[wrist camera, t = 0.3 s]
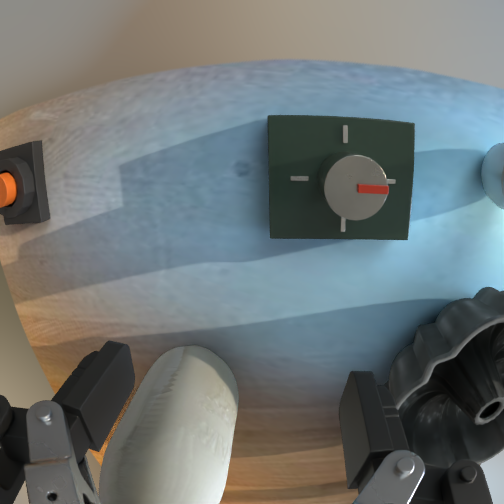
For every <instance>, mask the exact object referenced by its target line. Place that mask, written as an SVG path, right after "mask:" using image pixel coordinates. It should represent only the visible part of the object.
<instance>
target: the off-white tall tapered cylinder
mask: <svg viewBox="0 0 504 504" xmlns="http://www.w3.org/2000/svg"><path fill="white" fill-rule="evenodd" d="M238 401H239V396H238V387H237V383H236V380H235V377H234V375H233V373H232V371H231V369H230V368H229V366H228V365H227V364H226V363H225V362H224V361H223V360H222V359H221V358H220V357H219V356H217V355H216V354H215V353H213V352H212V351H210V350H208V349H206V348H204V347H201V346H196V345H190V346H181V347H177V348H173V349H171V350H169V351H167V352H166V353H164V354H163V355H161V356H160V357H159V358H158V359H157V360H156V362H155V363H154V364H153V365H152V367H151V368H150V369H149V371H148V372H147V374H146V375H145V377H144V379H143V381H142V382H141V384H140V386H139V388H138V390H137V391H136V393H135V395H134V397H133V399H132V401H131V402H130V404H129V406H128V408H127V410H126V412H125V413H124V415H123V417H122V419H121V421H120V423H119V424H118V426H117V428H116V430H115V432H114V434H113V436H112V438H111V440H110V442H109V444H108V446H107V449H106V451H105V454H104V458H103V463H102V467H101V473H100V483H99V499H100V501H101V503H102V504H219V503H220V500H221V498H222V495H223V492H224V488H225V484H226V479H227V474H228V468H229V462H230V455H231V448H232V440H233V433H234V428H235V422H236V417H237V411H238Z"/></svg>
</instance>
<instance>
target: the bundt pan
mask: <svg viewBox="0 0 504 504" xmlns="http://www.w3.org/2000/svg"><path fill="white" fill-rule="evenodd" d="M384 386H385V387H386V388H387V389H388V390H389V391H390V392H391V394H392V395H393V397H394V400H395V403H396V408H397V410H398V413H399V417H400V419H401V422H402V426H403V429H404V432H405V435H406V439H407V442H408V446H409V449H410V451H411V452H413V453H415V454H416V455H418V456H419V457H420V458H421V459H422V461H423V463H424V464H426V465H430V466H437V467H445V468H449V467H450V466H451V465H452V464H453V463H454V462H456V461H458V460H461V459H469V460H472V461H474V462H476V463H477V464H481V463H483V462H485V461H487V460H489V459H491V458H492V457H494V456H495V455H497V454H498V453H500V452H501V451H502V450H503V449H504V291H501V292H500V291H498V290H496V289H494V288H491V287H485V288H483V289H481V290H479V292H478V293H477V294H476V295H475V296H474V298H473V299H471V298H464V299H459V300H456V301H454V302H452V303H450V304H448V305H447V306H446V307H445V308H444V309H443V310H442V311H441V313H440V314H439V315H438V317H437V319H436V321H435V323H430V324H425V325H420V326H418V328H417V330H416V335H415V339H414V343H413V344H410V345H409V346H407V347H405V348H404V349H403V350H402V351H401V352H400V353H399V354H398V355H397V356H396V358H395V360H394V361H393V364H392V366H391V369H390V374H389V381H388V382H387V383H386V384H385V385H384Z"/></svg>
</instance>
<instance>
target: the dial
mask: <svg viewBox="0 0 504 504" xmlns="http://www.w3.org/2000/svg"><path fill="white" fill-rule="evenodd" d="M317 180H318V186H319V189H320V192H321V193H322V195H323V196H324V198H325V200H326V201H327V203H328V204H329V206H330V207H331V209H332V210H333V211H334V212H335V213H336V214H338V215H339V216H341V217H343V218H345V219H349V220H363V219H366V218H369V217H371V216H372V215H374V214H375V213H377V212H378V211H379V210H380V208H381V207H382V206H383V204H384V202H385V200H386V197H387V194H388V191H389V186H388V184H387V179H386V176H385V173H384V171H383V170H382V168H381V167H380V166H379V165H378V164H377V163H376V162H375V161H374V160H372V159H370V158H368V157H366V156H362V155H358V154H354V153H350V152H338V153H335V154H333V155H331V156H329V157H328V158H327V159H325V161H324V162H323V163H322V165H321V166H320V168H319V171H318V178H317Z"/></svg>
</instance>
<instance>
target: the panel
mask: <svg viewBox="0 0 504 504" xmlns="http://www.w3.org/2000/svg"><path fill="white" fill-rule="evenodd" d="M414 140H415V124H414V123H409V122H401V121H391V120H381V119H369V118H356V117H338V116H309V115H269V116H268V153H269V210H270V238H275V239H373V240H408V234H409V224H410V214H411V203H412V189H413V172H414ZM338 152H350V153H354V154H358V155H362V156H366V157H368V158H370V159H372V160H374V161H375V162H376V163H377V164H378V165H379V166H380V167H381V168H382V170H383V171H384V173H385V176H386V179H387V184H388V186H389V191H388V194H387V197H386V200H385V202H384V204H383V206H382V207H381V208H380V210H379V211H378V212H377V213H375V214H374V215H372V216H371V217H369V218H366V219H363V220H349V219H345V218H343V217H341V216H339V215H338V214H336V213H335V212H334V211H333V210H332V209H331V207H330V206H329V204H328V203H327V201H326V200H325V198H324V196H323V195H322V193H321V192H320V189H319V186H318V180H317V178H318V171H319V168H320V166H321V165H322V163H323V162H324V161H325V159H327V158H328V157H329V156H331V155H333V154H335V153H338Z"/></svg>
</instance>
